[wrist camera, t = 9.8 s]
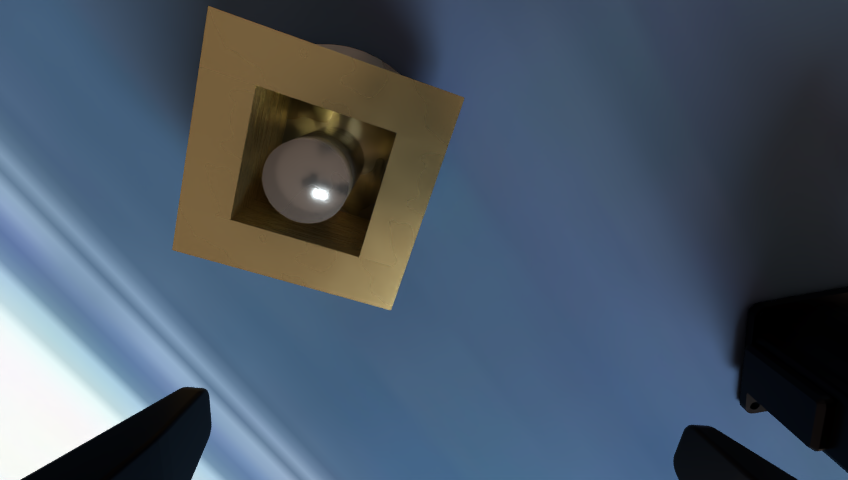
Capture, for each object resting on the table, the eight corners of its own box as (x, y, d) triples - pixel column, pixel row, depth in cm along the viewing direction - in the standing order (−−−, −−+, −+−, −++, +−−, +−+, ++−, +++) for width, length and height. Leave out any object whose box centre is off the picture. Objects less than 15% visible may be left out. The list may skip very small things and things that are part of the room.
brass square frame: (450, 96, 15) (464, 97, 12) (394, 263, 17) (390, 310, 14) (260, 28, 14) (208, 5, 11) (226, 213, 17) (172, 249, 13)
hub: (415, 29, 16) (419, -5, 10) (448, 225, 19) (466, 283, 13) (212, 70, 16) (106, 58, 10) (274, 257, 19) (217, 329, 13)
